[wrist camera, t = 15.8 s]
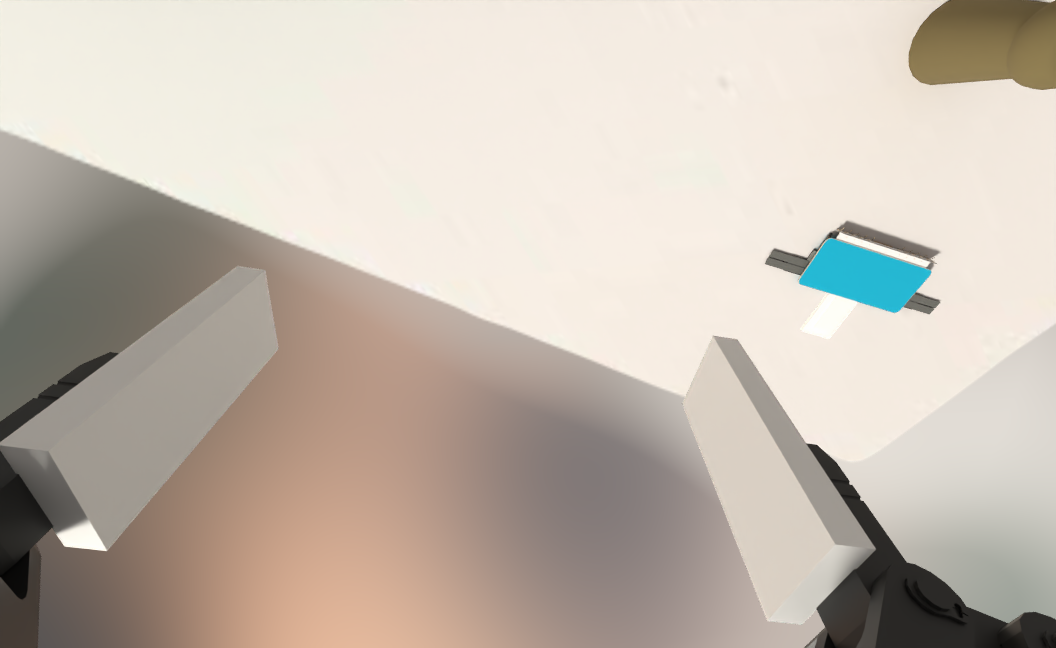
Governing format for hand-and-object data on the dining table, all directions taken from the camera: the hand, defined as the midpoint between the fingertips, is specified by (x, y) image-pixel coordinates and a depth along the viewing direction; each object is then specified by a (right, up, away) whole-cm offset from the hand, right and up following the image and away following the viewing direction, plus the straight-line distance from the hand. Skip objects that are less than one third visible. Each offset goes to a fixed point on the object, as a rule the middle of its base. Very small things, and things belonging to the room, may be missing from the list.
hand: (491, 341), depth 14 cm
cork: (+35, +23, +22) cm, 47 cm away
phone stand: (+35, +5, +34) cm, 49 cm away
